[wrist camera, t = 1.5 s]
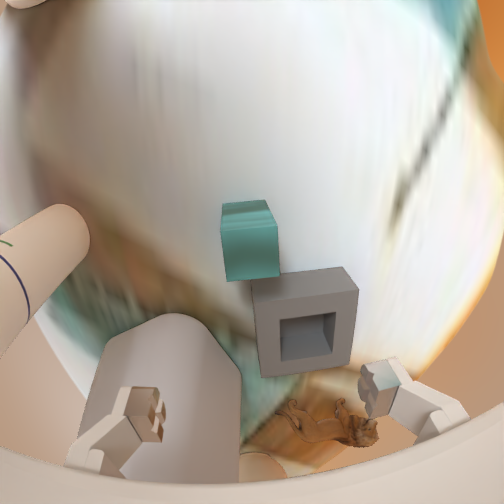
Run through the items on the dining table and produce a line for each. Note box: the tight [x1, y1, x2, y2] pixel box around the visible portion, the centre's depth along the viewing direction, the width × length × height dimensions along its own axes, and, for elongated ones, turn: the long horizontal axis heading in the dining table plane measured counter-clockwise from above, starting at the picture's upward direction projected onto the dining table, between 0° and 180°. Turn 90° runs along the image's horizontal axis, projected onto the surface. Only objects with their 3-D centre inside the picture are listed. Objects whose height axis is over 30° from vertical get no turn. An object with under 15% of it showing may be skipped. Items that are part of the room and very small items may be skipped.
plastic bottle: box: [77, 313, 242, 484], centre depth 23 cm, size 15×15×28 cm
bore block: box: [251, 267, 359, 378], centre depth 32 cm, size 10×10×5 cm
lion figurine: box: [275, 398, 379, 447], centre depth 37 cm, size 15×5×9 cm, turn 88°
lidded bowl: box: [239, 452, 287, 483], centre depth 42 cm, size 13×13×11 cm
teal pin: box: [220, 200, 280, 282], centre depth 26 cm, size 4×4×8 cm
